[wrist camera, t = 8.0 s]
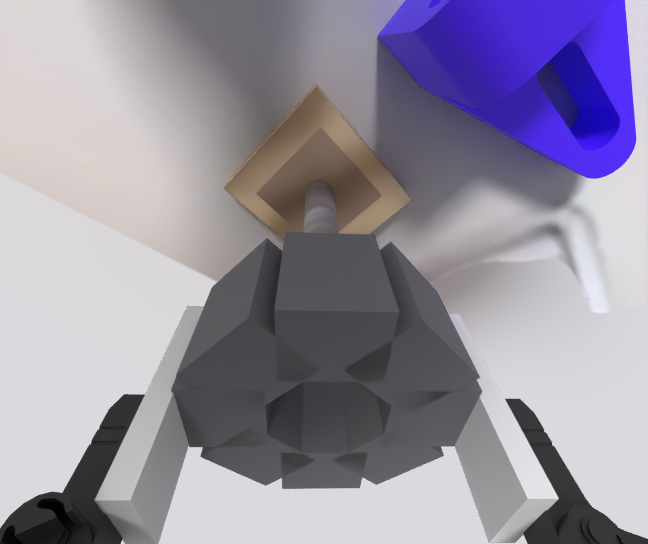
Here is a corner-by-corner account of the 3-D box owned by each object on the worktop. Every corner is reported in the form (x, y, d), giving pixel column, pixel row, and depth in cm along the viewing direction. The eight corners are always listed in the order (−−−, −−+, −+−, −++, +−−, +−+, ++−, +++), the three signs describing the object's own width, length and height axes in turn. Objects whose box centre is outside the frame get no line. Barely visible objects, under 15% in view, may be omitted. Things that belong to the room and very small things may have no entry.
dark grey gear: (194, 229, 11) (144, 307, 8) (460, 237, 12) (520, 314, 8) (225, 398, 16) (203, 489, 13) (410, 398, 17) (435, 487, 13)
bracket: (377, 36, 23) (425, 30, 13) (522, -148, 18) (763, -367, 9) (517, 201, 30) (617, 278, 20) (647, 97, 25) (857, 131, 16)
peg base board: (229, 179, 28) (182, 255, 18) (316, 84, 24) (318, 113, 14) (321, 260, 32) (324, 356, 22) (405, 191, 29) (455, 268, 19)
